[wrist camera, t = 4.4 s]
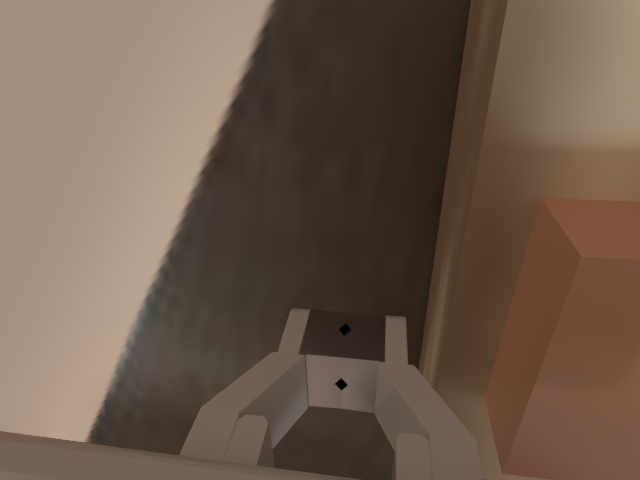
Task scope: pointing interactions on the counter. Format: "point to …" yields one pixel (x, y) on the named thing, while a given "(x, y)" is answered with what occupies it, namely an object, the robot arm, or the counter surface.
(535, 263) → the tile
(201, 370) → the counter surface
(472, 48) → the tan flat block
